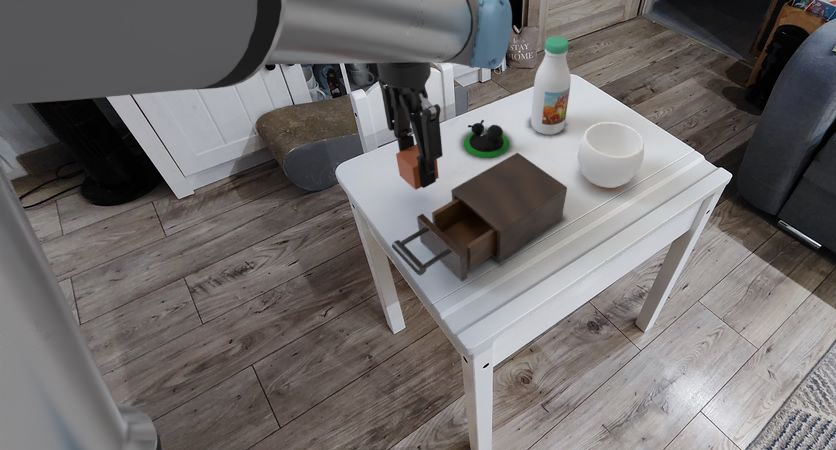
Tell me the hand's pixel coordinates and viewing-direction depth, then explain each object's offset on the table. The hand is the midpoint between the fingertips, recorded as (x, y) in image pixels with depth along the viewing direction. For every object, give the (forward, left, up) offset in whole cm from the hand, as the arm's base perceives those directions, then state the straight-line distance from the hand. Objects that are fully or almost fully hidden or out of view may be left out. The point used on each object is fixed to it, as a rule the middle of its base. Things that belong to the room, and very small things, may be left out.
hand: (419, 175), depth 82 cm
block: (0, 0, 0) cm, 0 cm away
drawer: (-2, -14, -6) cm, 15 cm away
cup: (+32, -18, -7) cm, 38 cm away
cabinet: (+9, -14, -7) cm, 18 cm away
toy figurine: (+21, +6, -7) cm, 23 cm away
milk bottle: (+36, +2, -7) cm, 37 cm away
